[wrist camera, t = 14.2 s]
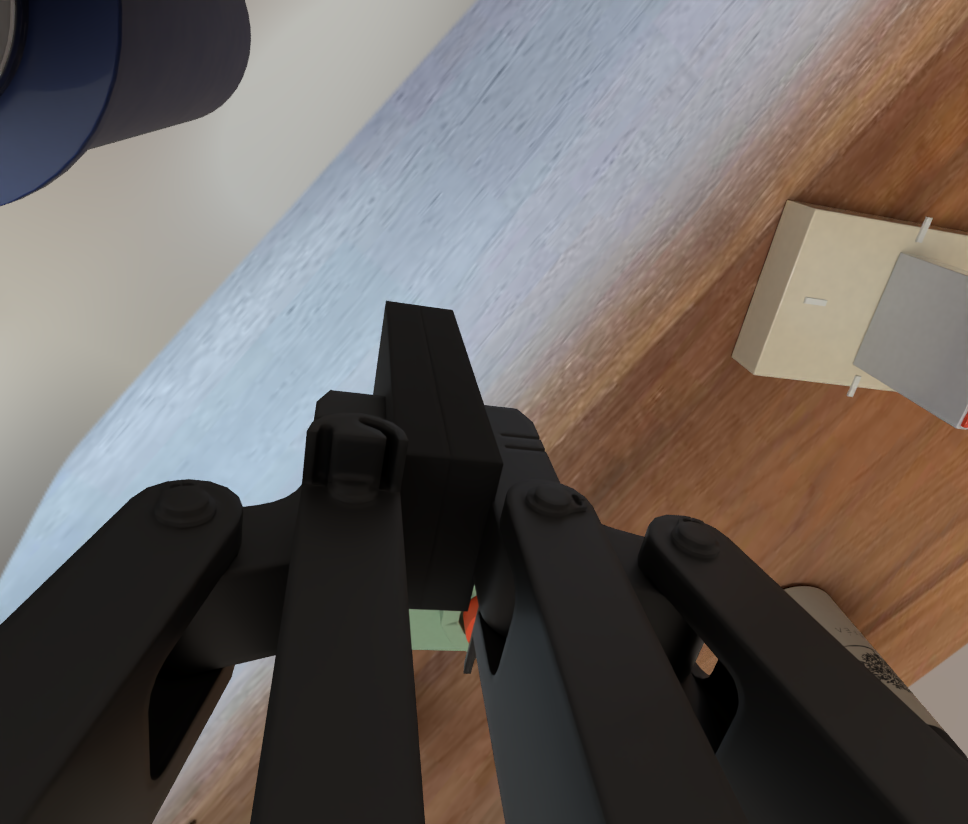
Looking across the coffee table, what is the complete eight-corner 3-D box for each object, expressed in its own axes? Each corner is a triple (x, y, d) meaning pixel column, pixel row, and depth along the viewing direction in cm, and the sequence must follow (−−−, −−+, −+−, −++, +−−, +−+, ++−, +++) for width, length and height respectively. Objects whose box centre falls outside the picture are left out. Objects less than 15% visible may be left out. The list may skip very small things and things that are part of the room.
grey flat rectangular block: (900, 252, 39) (1029, 297, 31) (923, 256, 39) (1057, 301, 32) (852, 364, 42) (959, 431, 34) (874, 366, 42) (985, 433, 35)
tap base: (727, 365, 44) (751, 385, 42) (790, 189, 40) (821, 197, 37) (909, 387, 47) (943, 407, 44) (988, 224, 42) (1031, 236, 40)
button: (458, 633, 47) (461, 653, 45) (468, 588, 45) (471, 607, 43) (514, 635, 48) (519, 654, 46) (526, 591, 46) (531, 609, 44)
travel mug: (770, 669, 58) (917, 894, 43) (721, 626, 55) (860, 852, 39) (848, 615, 57) (1031, 828, 41) (801, 566, 53) (981, 778, 38)
